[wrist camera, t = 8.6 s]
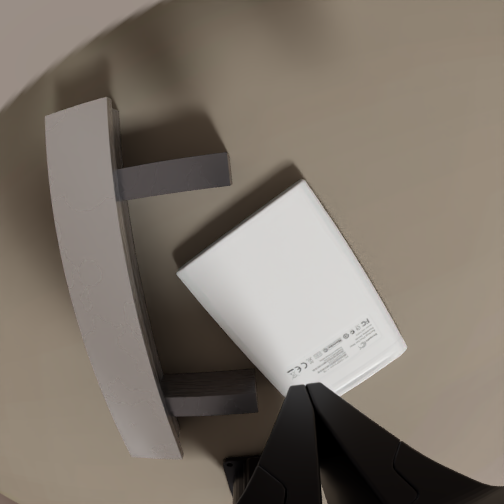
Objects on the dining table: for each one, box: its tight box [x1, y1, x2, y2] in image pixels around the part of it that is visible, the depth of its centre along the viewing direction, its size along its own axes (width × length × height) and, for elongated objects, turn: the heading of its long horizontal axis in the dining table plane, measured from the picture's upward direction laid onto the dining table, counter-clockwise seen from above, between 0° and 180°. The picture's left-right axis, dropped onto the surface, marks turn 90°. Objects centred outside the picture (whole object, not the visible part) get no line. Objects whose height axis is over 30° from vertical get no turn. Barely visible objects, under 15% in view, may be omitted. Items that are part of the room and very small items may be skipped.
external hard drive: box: [176, 179, 407, 397], centre depth 18 cm, size 2×8×12 cm
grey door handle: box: [45, 97, 258, 459], centre depth 16 cm, size 21×9×3 cm, turn 6°
